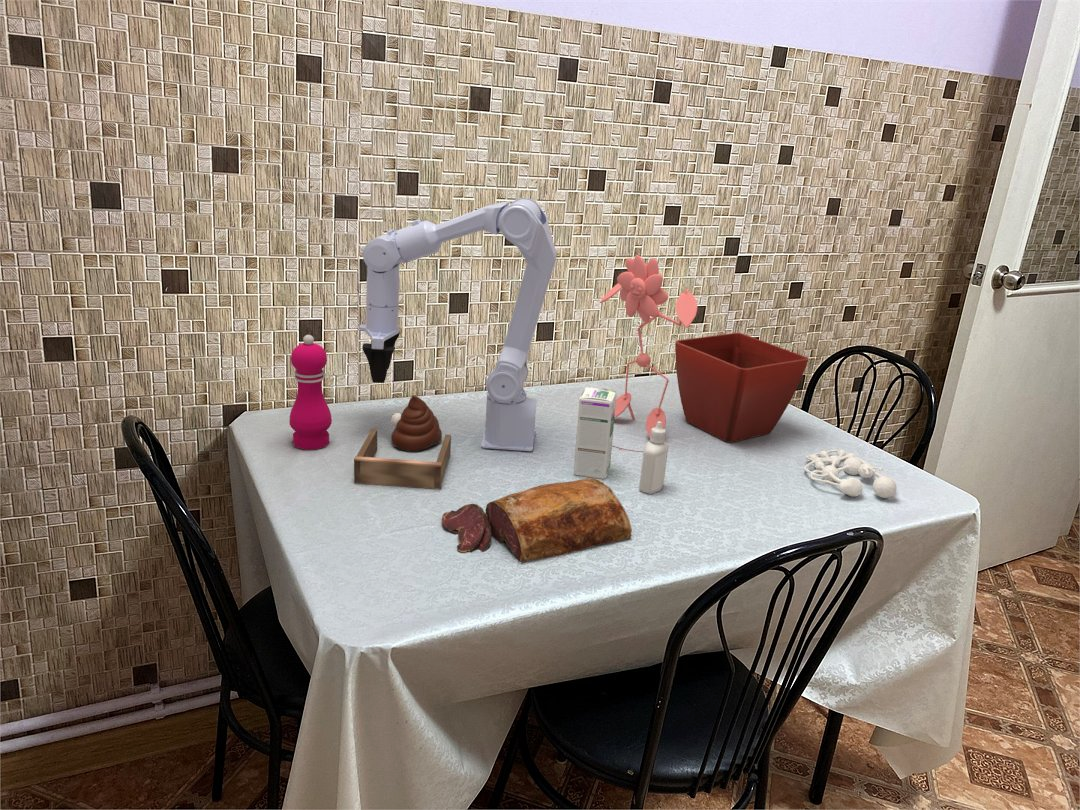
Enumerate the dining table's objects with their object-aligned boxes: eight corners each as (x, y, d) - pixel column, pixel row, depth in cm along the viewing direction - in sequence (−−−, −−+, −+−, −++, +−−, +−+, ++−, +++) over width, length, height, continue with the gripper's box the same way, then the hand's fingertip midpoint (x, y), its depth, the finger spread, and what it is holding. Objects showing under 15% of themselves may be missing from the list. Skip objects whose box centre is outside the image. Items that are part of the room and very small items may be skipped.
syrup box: (605, 480, 145) (614, 401, 140) (572, 475, 146) (579, 396, 141) (610, 467, 150) (618, 390, 145) (577, 462, 151) (584, 385, 146)
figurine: (610, 405, 180) (625, 240, 167) (698, 449, 161) (722, 267, 148) (552, 418, 171) (563, 246, 158) (638, 466, 152) (659, 274, 139)
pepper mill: (281, 445, 149) (277, 336, 142) (306, 432, 155) (304, 326, 148) (315, 454, 146) (313, 343, 139) (340, 440, 152) (338, 333, 145)
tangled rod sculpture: (786, 460, 162) (787, 440, 161) (860, 458, 162) (863, 438, 161) (820, 504, 144) (822, 481, 143) (904, 502, 144) (907, 480, 143)
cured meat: (426, 521, 127) (428, 480, 125) (564, 490, 140) (568, 453, 138) (483, 582, 113) (486, 538, 111) (630, 543, 126) (636, 502, 124)
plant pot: (796, 437, 170) (811, 357, 164) (729, 453, 160) (743, 368, 154) (727, 406, 185) (739, 331, 179) (662, 419, 174) (672, 340, 168)
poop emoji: (416, 457, 148) (417, 407, 145) (379, 444, 152) (379, 395, 149) (451, 440, 156) (453, 393, 153) (415, 428, 160) (416, 382, 157)
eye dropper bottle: (672, 490, 143) (681, 424, 139) (645, 495, 140) (653, 429, 136) (656, 479, 146) (665, 415, 142) (630, 485, 144) (638, 419, 139)
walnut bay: (450, 455, 150) (451, 433, 148) (440, 489, 137) (441, 465, 135) (371, 449, 150) (371, 427, 148) (354, 482, 137) (353, 458, 135)
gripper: (364, 292, 157) (363, 361, 162) (354, 312, 144) (353, 387, 149) (403, 295, 158) (400, 364, 163) (396, 315, 145) (393, 389, 149)
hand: (380, 375), depth 156 cm, fingers open, 7 cm apart
